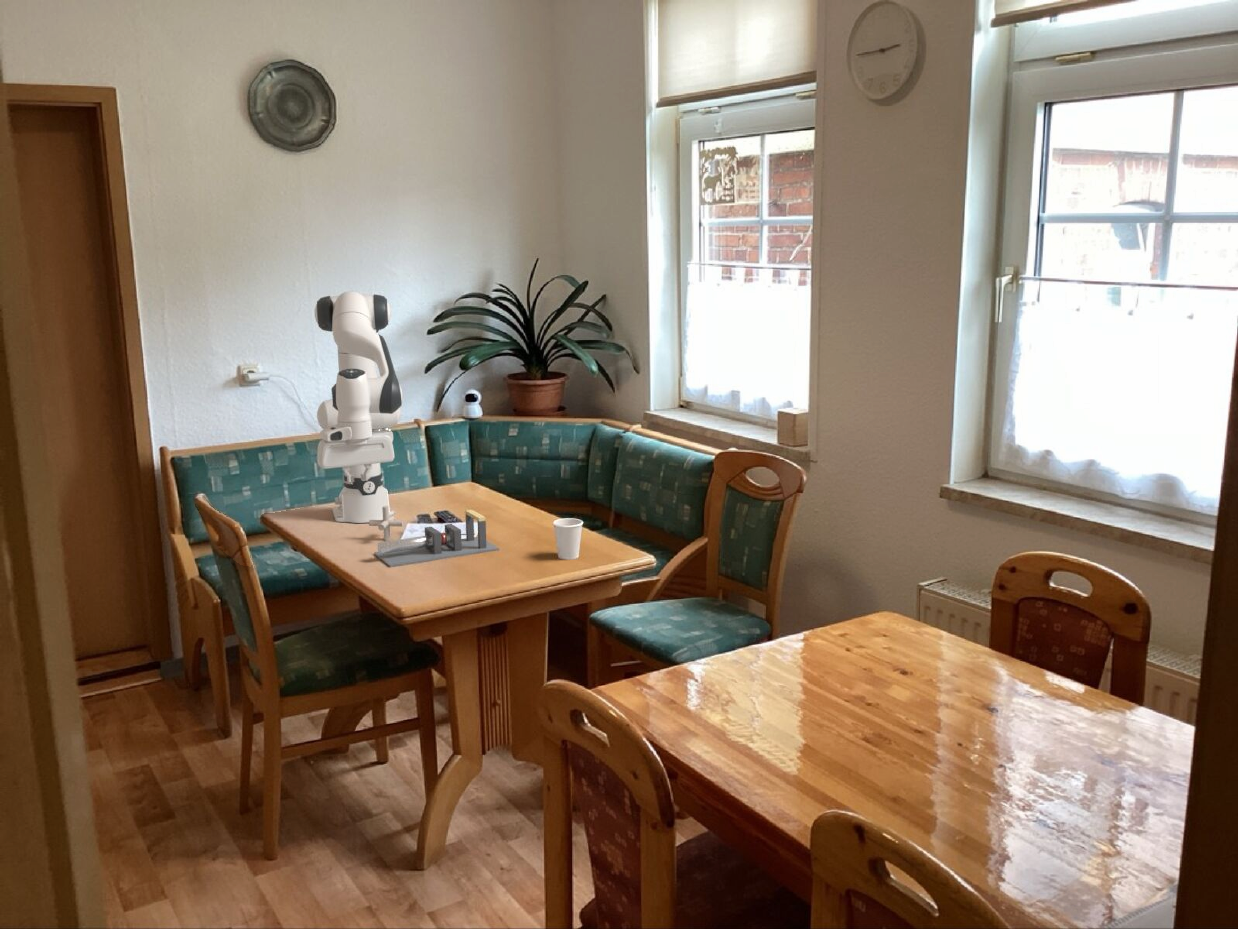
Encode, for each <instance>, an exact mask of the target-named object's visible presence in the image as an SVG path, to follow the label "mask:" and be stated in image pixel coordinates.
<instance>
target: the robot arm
mask: <svg viewBox="0 0 1238 929" xmlns="http://www.w3.org/2000/svg"><path fill="white" fill-rule="evenodd" d="M391 316H392V310H391V305H390V303H389V302H388V299H387V298H386V296H384V295H380V294H363V293H362V294H361V293H360V292H357V291H353V290H349V291H348V290H347V291H345V292H342V293H341V294H340V295H334V296H331V295H327V296H323V297H320V298H319V299H318V300H317V301H316V305H315V307H314V318H315V319H314V320H315V321H316V324H317V325H318V328H319V329H320V330H322V331H325V332H332V336H333V340H334V343H335V344H336V346H337V361H338V373H337V375H336V382H335V384H334V385H333V386H332V387H331V399H327V400H324V401H322V402H321V403H320V404H319V406H318V408H317V412H316V417H317V418H316V419H317V422H318V424H319V426H320V428H321V429H322V430H320V432H319V436H320V438H321V440H319V442H318V444H317V451H316V452H317V454H316V460H317V461H316V462H317V465H318V466H319V468H321V469H323V470H328V469H337V468H341V469H342V471H343V473H344V475H343V488H342V490H341V491H340V493H339V494H338V497H337V496H336V497H334V504H335V505H336V507H333V508H332V514H333V517H334V520H335V522H340V523H341V522H342V523H357V524H358V523H359V524H360V523H361V524H362V523H363V524H364V523H369V520H383V510H382V507H383V506H389V516H394V515H395V510H393V509H391V508H390V501H389V492H388V489H387V488H386V487H384V485H383V484H384V476H383V473H382V472H381V464H382V463H391V462H393V461H394V459H395V450H394V445H393V441H394V433H393V431H392V430H391V429H390V428H392V427H396V426H397V425H398V424H399V422H400V419H401V418H402V403H403V397H404V396H403V390H402V386H401V383H400V382H399V380H398V377H397V374H396V371H395V368H394V363H393V360H392V356H391V354H390V350H389V348H388V344H387V342H386V340H385V338H384V337H383V335H381V334H380V333H379V332H380V330H384V329H385V328H386V327H387V326H388V325H389V322H390V320H391ZM378 333H379V334H378ZM376 365H377V366H376ZM377 369H378V372H379V377H378V374H377Z"/></svg>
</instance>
